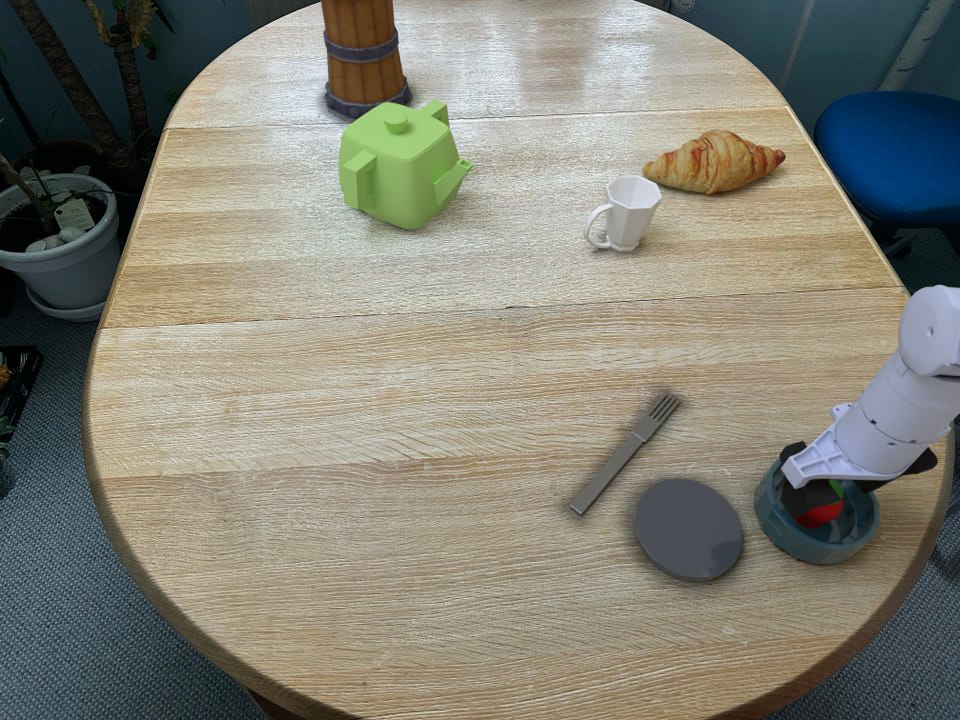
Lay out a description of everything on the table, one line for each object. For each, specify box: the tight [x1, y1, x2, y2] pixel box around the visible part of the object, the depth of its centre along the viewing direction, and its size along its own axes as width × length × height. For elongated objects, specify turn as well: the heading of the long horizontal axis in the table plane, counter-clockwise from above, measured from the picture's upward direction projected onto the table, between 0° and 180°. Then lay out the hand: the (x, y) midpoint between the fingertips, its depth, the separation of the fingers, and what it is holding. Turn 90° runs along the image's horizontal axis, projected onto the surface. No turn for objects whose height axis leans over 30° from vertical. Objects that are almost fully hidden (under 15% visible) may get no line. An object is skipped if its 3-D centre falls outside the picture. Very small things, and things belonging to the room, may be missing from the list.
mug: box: [320, 0, 414, 123], centre depth 103 cm, size 19×14×20 cm
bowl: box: [753, 457, 881, 565], centre depth 64 cm, size 10×10×4 cm
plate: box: [632, 477, 743, 583], centre depth 64 cm, size 10×10×1 cm
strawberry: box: [794, 479, 843, 529], centre depth 63 cm, size 4×4×5 cm
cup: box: [582, 174, 663, 252], centre depth 86 cm, size 7×10×8 cm
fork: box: [569, 391, 681, 517], centre depth 69 cm, size 18×2×1 cm, turn 139°
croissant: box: [641, 128, 787, 195], centre depth 96 cm, size 21×10×8 cm, turn 100°
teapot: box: [337, 98, 474, 230], centre depth 88 cm, size 18×20×13 cm
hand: (824, 495), depth 62 cm, fingers open, 7 cm apart
